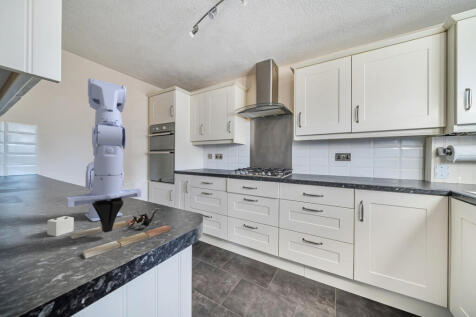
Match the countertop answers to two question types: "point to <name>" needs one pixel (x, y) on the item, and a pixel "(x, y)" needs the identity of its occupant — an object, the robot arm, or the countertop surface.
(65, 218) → the white rectangular block
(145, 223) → the creature
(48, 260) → the countertop surface
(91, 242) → the countertop surface
